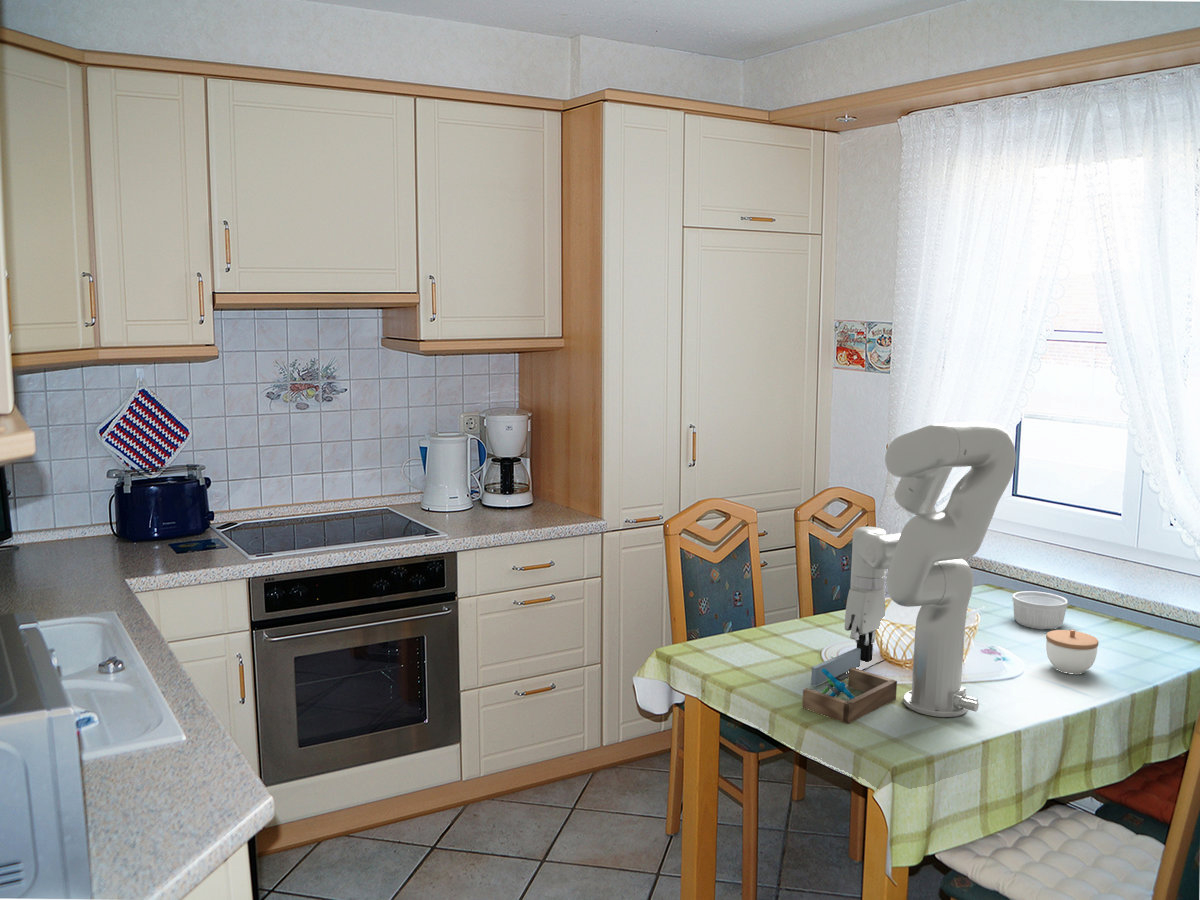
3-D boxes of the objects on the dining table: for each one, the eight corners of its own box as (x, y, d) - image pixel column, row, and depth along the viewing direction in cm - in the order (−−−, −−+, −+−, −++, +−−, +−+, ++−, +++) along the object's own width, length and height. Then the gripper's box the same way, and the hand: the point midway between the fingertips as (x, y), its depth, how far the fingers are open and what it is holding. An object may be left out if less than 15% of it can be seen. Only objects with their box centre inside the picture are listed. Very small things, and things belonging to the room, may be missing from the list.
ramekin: (1001, 616, 268) (1003, 590, 267) (1048, 615, 269) (1050, 590, 268) (1026, 632, 255) (1029, 605, 254) (1076, 631, 256) (1078, 604, 255)
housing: (941, 675, 224) (942, 658, 224) (848, 724, 198) (849, 704, 197) (874, 656, 236) (875, 640, 235) (778, 699, 210) (778, 681, 209)
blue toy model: (868, 706, 202) (834, 671, 202) (848, 727, 202) (813, 692, 202) (852, 692, 213) (819, 659, 213) (832, 712, 213) (799, 679, 213)
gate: (860, 665, 228) (860, 648, 227) (815, 686, 215) (815, 668, 215) (856, 664, 228) (856, 647, 228) (811, 684, 216) (811, 667, 215)
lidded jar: (1049, 658, 236) (1052, 619, 235) (1099, 668, 230) (1103, 628, 229) (1039, 671, 227) (1042, 631, 226) (1091, 682, 221) (1094, 641, 220)
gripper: (871, 572, 235) (867, 648, 237) (834, 584, 225) (831, 663, 227) (900, 579, 229) (895, 656, 232) (864, 591, 219) (860, 672, 222)
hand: (864, 659), depth 230 cm, fingers closed
